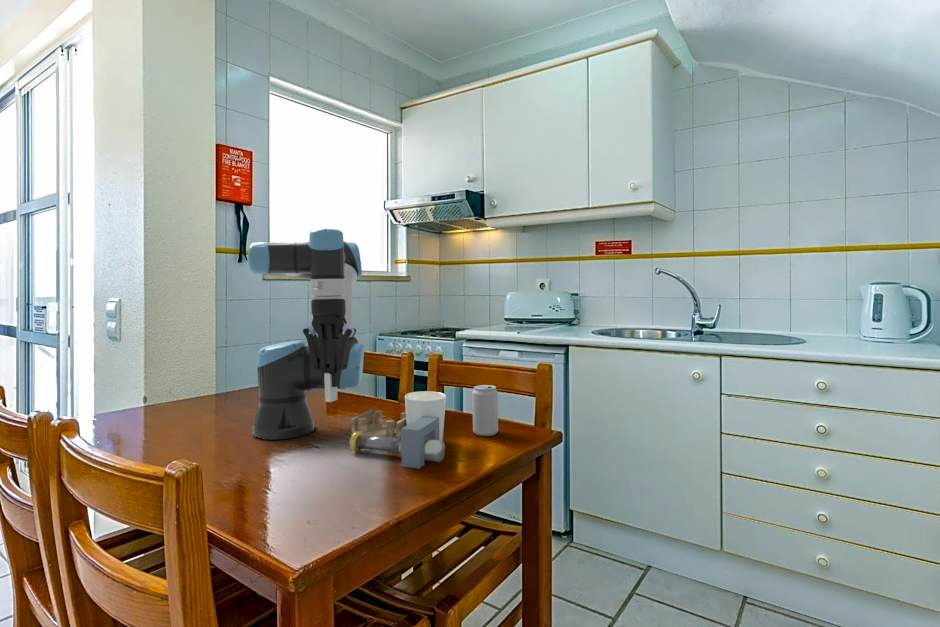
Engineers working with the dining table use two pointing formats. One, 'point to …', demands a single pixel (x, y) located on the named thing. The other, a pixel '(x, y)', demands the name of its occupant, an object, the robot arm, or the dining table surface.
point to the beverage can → (485, 410)
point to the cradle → (377, 425)
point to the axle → (430, 450)
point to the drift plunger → (373, 443)
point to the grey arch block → (417, 440)
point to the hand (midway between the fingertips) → (331, 400)
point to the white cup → (425, 407)
